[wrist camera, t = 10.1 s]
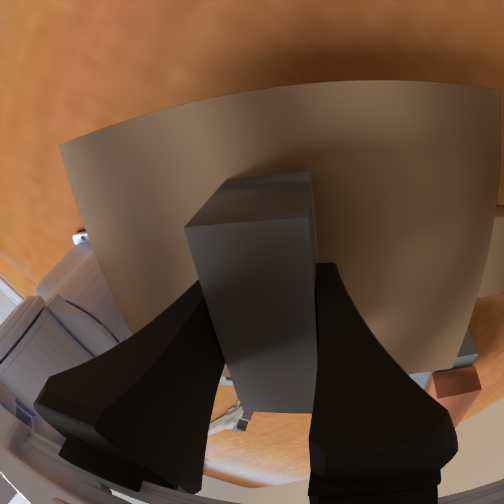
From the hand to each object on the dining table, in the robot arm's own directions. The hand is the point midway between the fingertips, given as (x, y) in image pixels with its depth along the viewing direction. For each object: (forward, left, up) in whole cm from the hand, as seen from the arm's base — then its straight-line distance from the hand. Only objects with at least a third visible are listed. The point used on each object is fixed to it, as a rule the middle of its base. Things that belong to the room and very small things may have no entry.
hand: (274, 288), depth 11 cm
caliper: (-12, -30, -11) cm, 34 cm away
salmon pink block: (+12, -18, -5) cm, 22 cm away
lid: (+2, -1, -4) cm, 4 cm away
